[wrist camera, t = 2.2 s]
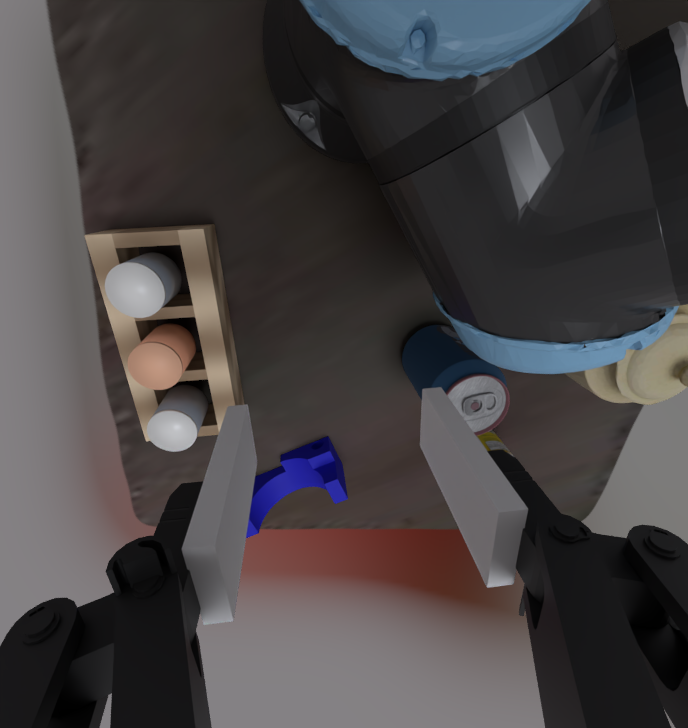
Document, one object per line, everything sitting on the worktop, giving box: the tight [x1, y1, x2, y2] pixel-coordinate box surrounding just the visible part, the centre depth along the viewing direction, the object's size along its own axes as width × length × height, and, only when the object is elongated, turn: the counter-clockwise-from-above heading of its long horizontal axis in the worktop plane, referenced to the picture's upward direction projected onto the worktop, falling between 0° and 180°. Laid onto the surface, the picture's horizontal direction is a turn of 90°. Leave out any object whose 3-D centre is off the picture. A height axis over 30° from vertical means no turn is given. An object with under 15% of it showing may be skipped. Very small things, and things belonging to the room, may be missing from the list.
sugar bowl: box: [565, 304, 688, 405], centre depth 36 cm, size 15×11×15 cm
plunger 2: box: [147, 385, 209, 452], centre depth 35 cm, size 4×4×5 cm
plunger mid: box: [128, 323, 196, 390], centre depth 33 cm, size 4×4×5 cm
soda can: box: [402, 325, 510, 436], centre depth 37 cm, size 7×7×12 cm
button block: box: [85, 224, 245, 441], centre depth 37 cm, size 19×9×4 cm, turn 2°
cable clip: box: [246, 437, 348, 538], centre depth 45 cm, size 12×4×6 cm, turn 112°
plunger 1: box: [105, 252, 182, 318], centre depth 30 cm, size 4×4×5 cm
